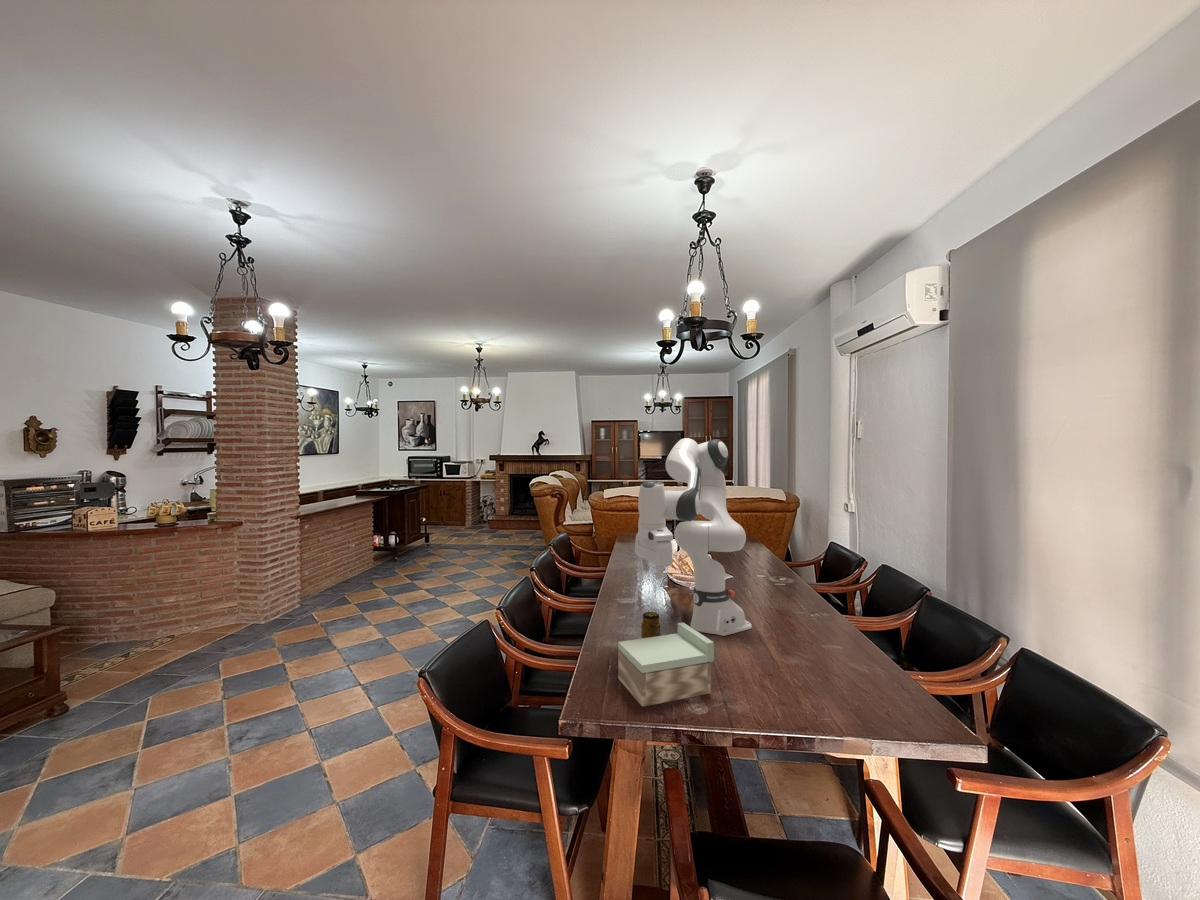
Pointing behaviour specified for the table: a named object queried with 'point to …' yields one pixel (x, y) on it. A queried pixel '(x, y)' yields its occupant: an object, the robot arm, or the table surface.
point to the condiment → (650, 625)
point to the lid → (668, 650)
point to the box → (664, 682)
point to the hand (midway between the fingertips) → (652, 574)
